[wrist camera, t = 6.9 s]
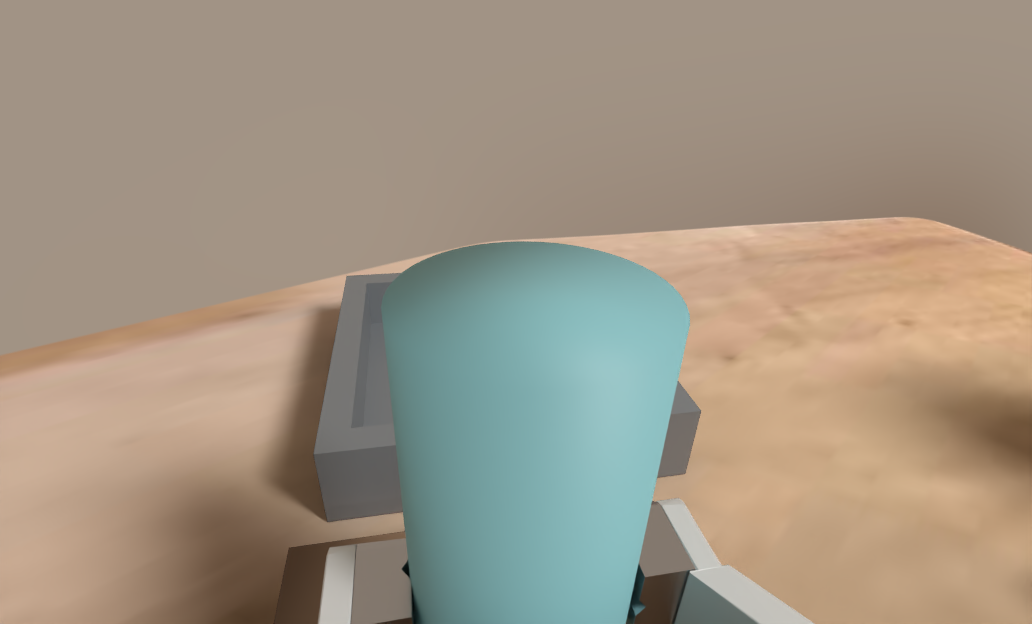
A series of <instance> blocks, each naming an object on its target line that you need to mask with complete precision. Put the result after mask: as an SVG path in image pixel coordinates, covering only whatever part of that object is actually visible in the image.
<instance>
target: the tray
mask: <svg viewBox="0 0 1032 624" xmlns="http://www.w3.org/2000/svg"><path fill="white" fill-rule="evenodd" d="M400 274H401V273H393V274H374V275H355V276H347V277H346V282H345V288H344V293H343V298H342V304H341V309H340V314H339V320H338V325H337V331H336V336H335V341H334V347H333V352H332V357H331V363H330V368H329V373H328V379H327V384H326V389H325V395H324V400H323V406H322V411H321V416H320V422H319V427H318V432H317V438H316V443H315V448H314V454H313V455H314V460H315V464H316V469H317V474H318V479H319V484H320V489H321V493H322V498H323V503H324V508H325V513H326V518H327V522H330V521H338V520H345V519H353V518H360V517H367V516H375V515H382V514H390V513H397V512H403V507H402V498H401V488H400V479H399V470H398V460H397V451H396V442H395V433H394V423H393V414H392V405H391V395H390V386H389V377H388V368H387V358H386V349H385V340H384V330H383V321H382V311H381V305H382V299H383V296H384V294H385V292H386V290H387V288H388V287H389V285H390V284H391V283H392V282H393V280H394V279H396V278H397V277H398V276H399V275H400ZM700 414H701V410H700V409H699V407H698V406H697V405H696V404H695V402H694V401H693V400H692V398H691V397H690V396H689V394H688V393H687V392H686V391H685V389H684V388H683V387H682V385H681V384H680V383H679V381H678V382H677V386H676V391H675V396H674V400H673V405H672V410H671V414H670V419H669V424H668V428H667V433H666V438H665V442H664V447H663V452H662V456H661V461H660V466H659V470H658V475H657V477H664V476H672V475H679V474H685V473H686V469H687V465H688V461H689V457H690V453H691V449H692V445H693V441H694V438H695V434H696V430H697V426H698V422H699V418H700Z"/></svg>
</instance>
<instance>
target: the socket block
mask: <svg viewBox="0 0 1032 624" xmlns="http://www.w3.org/2000/svg"><path fill="white" fill-rule="evenodd" d="M403 538H406V535H405V531H404V532H397V533H390V534H383V535H376V536H369V537H362V538H355V539H348V540H341V541H333V542H326V543H319V544H312V545H305V546H298V547H291V548H289V550H288V555H287V560H286V565H285V570H284V575H283V580H282V585H281V590H280V595H279V600H278V605H277V610H276V615H275V620H274V624H318V617H319V610H320V602H321V594H322V586H323V579H324V571H325V563H326V556H327V553H328V550H329V548H330V547H337V546H345V545H352V544H360V543H369V542H377V541H386V540H395V539H403Z"/></svg>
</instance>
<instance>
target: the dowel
mask: <svg viewBox="0 0 1032 624" xmlns="http://www.w3.org/2000/svg"><path fill="white" fill-rule="evenodd" d="M381 311H382V321H383V330H384V340H385V349H386V358H387V368H388V377H389V386H390V395H391V405H392V414H393V423H394V433H395V442H396V451H397V460H398V470H399V479H400V488H401V498H402V507H403V516H404V525H405V535H406V544H407V553H408V563H409V572H410V580H411V586H412V595H413V604H414V618H415V623H416V624H626V620H627V615H628V610H629V606H630V601H631V596H632V592H633V587H634V582H635V578H636V573H637V568H638V564H639V559H640V554H641V550H642V545H643V540H644V536H645V531H646V526H647V522H648V517H649V512H650V508H651V503H652V498H653V494H654V489H655V484H656V480H657V475H658V470H659V466H660V461H661V456H662V452H663V447H664V442H665V438H666V433H667V428H668V424H669V419H670V414H671V410H672V405H673V400H674V396H675V391H676V386H677V382H678V377H679V372H680V368H681V363H682V358H683V354H684V349H685V344H686V340H687V335H688V330H689V326H690V315H689V311H688V308H687V305H686V303H685V302H684V300H683V298H682V297H681V295H680V294H679V293H678V292H677V291H676V290H675V288H674V287H673V286H671V285H670V284H669V283H668V282H667V281H666V280H664V279H663V278H661V277H660V276H658V275H657V274H655V273H654V272H652V271H650V270H648V269H647V268H645V267H643V266H641V265H638V264H636V263H634V262H632V261H629V260H627V259H624V258H621V257H618V256H616V255H612V254H609V253H605V252H602V251H598V250H593V249H589V248H584V247H579V246H573V245H566V244H558V243H546V242H500V243H489V244H481V245H474V246H469V247H463V248H459V249H455V250H451V251H447V252H444V253H441V254H438V255H435V256H432V257H430V258H427V259H425V260H423V261H421V262H419V263H417V264H415V265H413V266H411V267H410V268H408V269H407V270H405V271H404V272H402V273H401V274H400V275H399V276H398V277H397V278H396V279H394V280H393V282H392V283H391V284H390V285H389V287H388V288H387V290H386V292H385V294H384V296H383V299H382V305H381Z"/></svg>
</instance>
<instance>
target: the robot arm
mask: <svg viewBox="0 0 1032 624" xmlns="http://www.w3.org/2000/svg"><path fill="white" fill-rule="evenodd" d="M318 624H416V623H415V618H414V604H413V595H412V586H411V580H410V572H409V563H408V553H407V544H406V538H403V539H395V540H386V541H377V542H369V543H360V544H352V545H345V546H337V547H330V548H329V550H328V553H327V556H326V563H325V571H324V579H323V586H322V594H321V602H320V610H319V617H318ZM626 624H814V623H813V622H811V621H810V620H808V619H807V618H805V617H804V616H803V615H801V614H800V613H798V612H797V611H795V610H794V609H792V608H791V607H789V606H788V605H787V604H785V603H784V602H782V601H781V600H779V599H778V598H776V597H775V596H773V595H772V594H771V593H769V592H768V591H766V590H765V589H763V588H762V587H760V586H759V585H757V584H756V583H755V582H753V581H752V580H750V579H749V578H747V577H746V576H744V575H743V574H741V573H740V572H739V571H737V570H736V569H734V568H733V567H731V566H730V565H721V563H720V562H719V560H718V558H717V557H716V555H715V553H714V552H713V550H712V548H711V547H710V545H709V543H708V542H707V540H706V538H705V537H704V535H703V533H702V532H701V530H700V528H699V527H698V525H697V523H696V522H695V520H694V518H693V517H692V515H691V513H690V512H689V510H688V508H687V507H686V505H685V503H684V502H683V501H682V500H681V499H679V498H674V499H668V500H661V501H656V502H654V501H652V503H651V508H650V512H649V517H648V522H647V526H646V531H645V536H644V540H643V545H642V550H641V554H640V559H639V564H638V568H637V573H636V578H635V582H634V587H633V592H632V596H631V601H630V606H629V610H628V615H627V620H626Z"/></svg>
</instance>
